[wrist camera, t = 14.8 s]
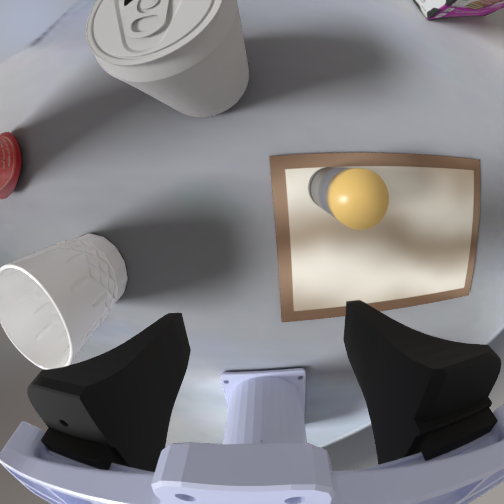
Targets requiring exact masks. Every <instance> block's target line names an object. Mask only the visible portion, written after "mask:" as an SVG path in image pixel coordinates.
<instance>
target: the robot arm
mask: <svg viewBox="0 0 504 504" xmlns="http://www.w3.org/2000/svg"><path fill="white" fill-rule="evenodd" d="M344 343H345V347H346V351H347V355H348V358H349V361H350V363H351V366H352V368H353V370H354V373H355V375H356V378H357V380H358V382H359V385H360V387H361V390H362V392H363V394H364V397H365V400H366V403H367V407H368V411H369V415H370V419H371V424H372V429H373V433H374V439H375V444H376V450H377V457H378V465H376V466H372V467H367V468H363V469H358V470H353V471H332V469H331V463H330V458H329V455H328V453H327V451H326V450H325V449H322V448H319V447H317V446H314V445H312V444H309V443H307V439H306V431H305V423H304V417H305V387H306V372H305V369H303V368H295V369H283V370H268V371H248V372H223V373H222V374H221V382H222V386H223V391H224V395H225V399H226V404H227V408H228V412H227V419H226V426H225V433H224V440H223V444H210V443H194V442H189V443H174V444H171V445H169V446H168V447H166V448H165V444H166V438H167V432H168V427H169V422H170V417H171V413H172V409H173V406H174V403H175V400H176V397H177V395H178V392H179V389H180V386H181V384H182V381H183V378H184V375H185V372H186V369H187V366H188V361H189V356H190V346H189V342H188V338H187V334H186V330H185V326H184V321H183V317H182V313H168V314H167V315H165V316H163V317H162V318H160V319H159V320H157V321H156V322H155V323H153V324H152V325H150V326H149V327H147V328H146V329H145V330H143V331H142V332H140V333H139V334H137V335H136V336H134V337H133V338H131V339H129V340H128V341H126V342H125V343H123V344H121V345H120V346H118V347H116V348H114V349H112V350H110V351H108V352H106V353H104V354H101V355H99V356H96V357H94V358H91V359H89V360H86V361H83V362H80V363H77V364H73V365H69V366H65V367H60V368H54V369H48V370H42V371H41V372H40V374H38V376H37V377H36V378H35V379H34V380H33V381H32V383H31V384H30V385H29V386H28V389H27V392H28V397H29V399H30V402H31V403H32V405H33V407H34V408H35V410H36V411H37V413H38V414H39V415H40V417H41V418H42V419H43V421H44V422H45V423H46V425H47V426H48V427H49V428H48V430H47V431H46V433H45V432H44V431H42V430H41V429H40V428H38V427H35V426H33V425H31V424H29V423H27V422H23V421H22V422H21V424H20V426H19V427H18V428H17V430H16V431H15V432H14V434H13V435H12V437H11V438H10V439H9V441H8V442H7V444H6V446H5V447H4V448H3V450H2V451H1V453H0V463H1V464H2V465H3V466H4V467H5V468H6V469H7V470H8V471H9V472H10V473H11V474H12V475H13V476H14V477H15V478H16V479H18V480H19V481H20V482H21V483H22V484H23V485H24V486H25V487H27V488H28V489H29V490H30V491H31V492H33V493H34V494H36V495H37V496H39V497H41V498H43V499H44V500H46V501H48V502H50V503H51V504H468V503H470V502H471V501H473V500H475V499H476V498H478V497H480V496H481V495H483V494H485V493H486V492H488V491H489V490H491V489H492V488H494V487H495V486H497V485H498V484H500V483H501V482H503V481H504V404H503V405H502V406H500V407H499V408H497V409H496V410H495V411H494V412H493V413H492V411H491V410H490V408H489V407H490V406H491V404H492V402H491V400H490V399H489V398H488V396H489V394H490V392H491V390H492V388H493V386H494V384H495V382H496V380H497V378H498V375H499V372H500V368H501V360H500V358H499V357H498V355H497V354H496V353H495V352H494V351H493V350H492V349H491V348H490V346H489V345H480V344H466V343H460V342H453V341H449V340H444V339H440V338H437V337H433V336H430V335H427V334H424V333H421V332H419V331H416V330H414V329H411V328H409V327H407V326H405V325H403V324H401V323H399V322H397V321H395V320H393V319H391V318H390V317H388V316H386V315H385V314H383V313H381V312H380V311H378V310H376V309H375V308H373V307H371V306H370V305H368V304H366V303H365V302H363V301H361V300H354V301H346V315H345V330H344ZM299 376H302V377H299ZM225 380H228V381H225Z"/></svg>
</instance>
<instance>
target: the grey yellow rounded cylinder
mask: <svg viewBox="0 0 504 504" xmlns="http://www.w3.org/2000/svg"><path fill="white" fill-rule="evenodd" d="M308 192H309V195H310V198H311V199H312V201H313V202H314V203H315V204H316V205H318V206H319V207H320V208H322V209H323V210H325V211H326V212H328V213H329V214H330V215H332V216H333V217H334V218H336V219H337V220H339V221H340V222H341V223H343V224H344V225H346V226H347V227H349V228H352V229H355V230H366V229H369V228H372V227H374V226H375V225H377V224H378V223H379V222H380V221H381V220H382V219H383V217H384V216H385V214H386V212H387V209H388V205H389V193H388V189H387V186H386V184H385V182H384V181H383V180H382V178H381V177H380V176H379V175H378V174H376V173H375V172H373V171H371V170H368V169H363V168H340V167H325V168H321V169H319V170H317V171H316V172H315V173H314V174H313V175H312V176H311V178H310V180H309V184H308Z"/></svg>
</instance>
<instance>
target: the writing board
mask: <svg viewBox="0 0 504 504" xmlns="http://www.w3.org/2000/svg"><path fill="white" fill-rule="evenodd" d="M269 158H270V168H271V180H272V191H273V203H274V215H275V228H276V241H277V255H278V270H279V285H280V301H281V318H282V322H290V321H302V320H312V319H322V318H331V317H340V316H345V315H346V301H354V300H361V301H363V302H365V303H366V304H368V305H370V306H371V307H373V308H375V309H376V310H378V311H385V310H391V309H398V308H404V307H410V306H416V305H421V304H427V303H432V302H438V301H443V300H448V299H453V298H457V297H462V296H467V295H469V291H470V286H471V280H472V274H473V268H474V262H475V255H476V247H477V237H478V226H479V211H480V160H476V159H467V158H458V157H447V156H435V155H420V154H399V153H319V154H297V155H281V156H269ZM325 167H340V168H363V169H368V170H371V171H373V172H375V173H376V174H378V175H379V176H380V177H381V178H382V180H383V181H384V182H385V184H386V186H387V189H388V193H389V205H388V209H387V212H386V214H385V216H384V217H383V219H382V220H381V221H380V222H379V223H378V224H377V225H375V226H374V227H372V228H369V229H366V230H355V229H352V228H349V227H347V226H346V225H344V224H343V223H341V222H340V221H339V220H337V219H336V218H334V217H333V216H332V215H330V214H329V213H328V212H326V211H325V210H323V209H322V208H320V207H319V206H318V205H316V204H315V203H314V202H313V201H312V199H311V198H310V195H309V192H308V184H309V180H310V178H311V176H312V175H313V174H314V173H315V172H316V171H317V170H319V169H321V168H325Z"/></svg>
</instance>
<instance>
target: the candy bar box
mask: <svg viewBox="0 0 504 504" xmlns="http://www.w3.org/2000/svg"><path fill="white" fill-rule="evenodd" d="M413 1H414V2H415V4H416V5H417V7H418V8H419V10H420V11H421V12H422V14H423V15H424V17H425V18H426V19H428V20H429V19H437V18H447V17H460V16H486V15H488V14H490V13H492V12H494V11H496V10H499V9H501V8H503V7H504V0H413Z"/></svg>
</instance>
